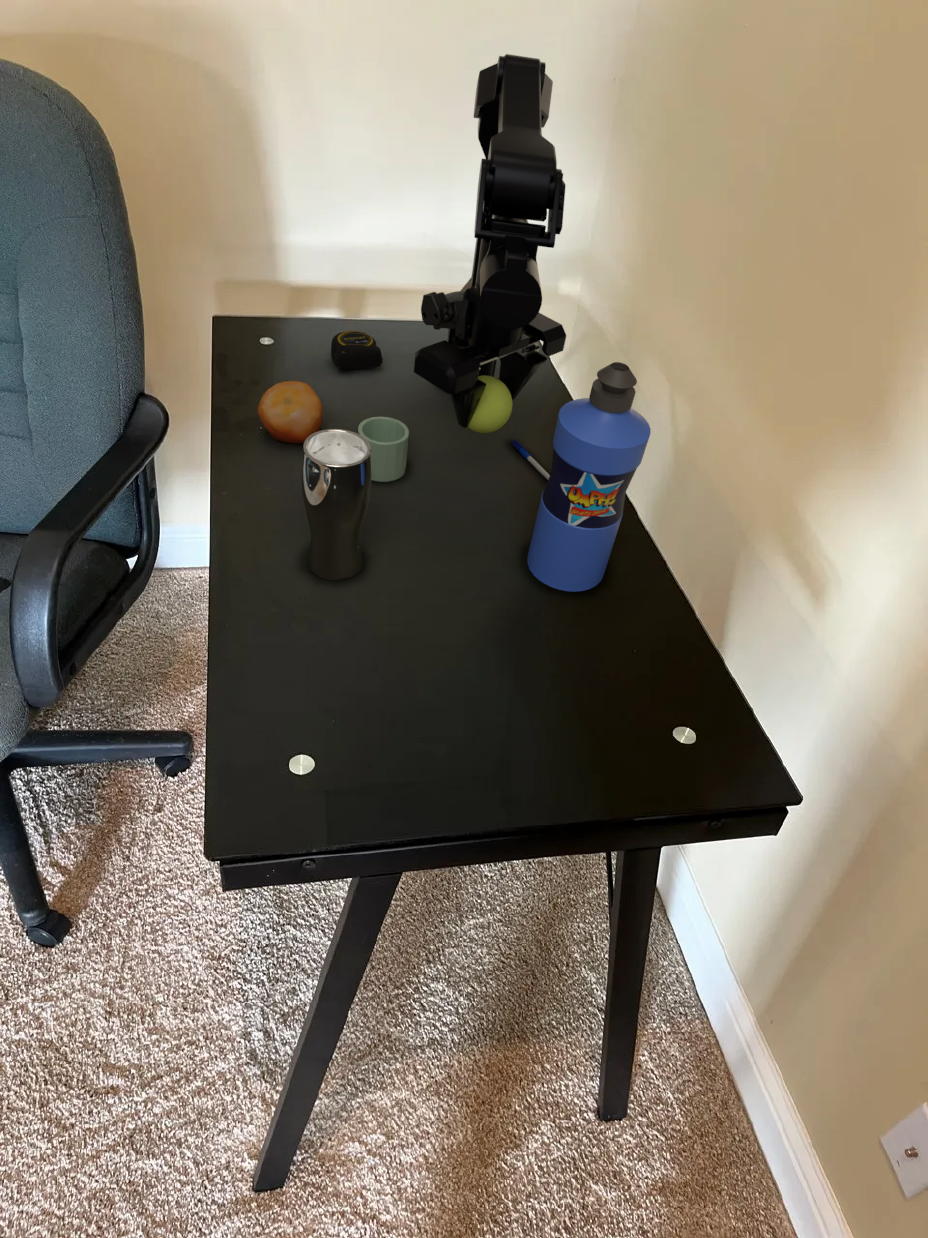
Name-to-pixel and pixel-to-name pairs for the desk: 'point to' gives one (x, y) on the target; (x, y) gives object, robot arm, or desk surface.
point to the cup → (386, 447)
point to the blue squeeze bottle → (588, 482)
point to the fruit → (291, 411)
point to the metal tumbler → (336, 500)
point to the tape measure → (355, 350)
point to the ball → (492, 406)
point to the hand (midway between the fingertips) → (482, 417)
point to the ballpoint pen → (530, 458)
